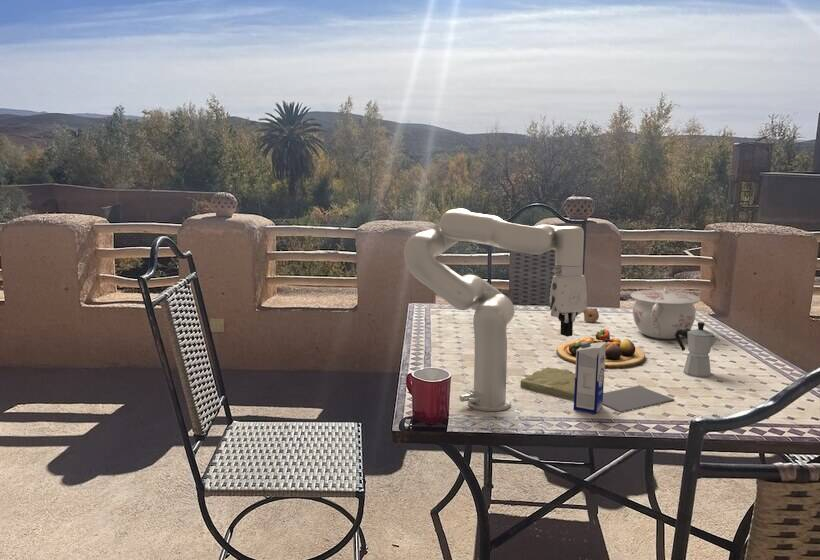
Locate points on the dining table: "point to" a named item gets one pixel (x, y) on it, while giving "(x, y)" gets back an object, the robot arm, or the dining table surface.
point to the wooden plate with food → (615, 351)
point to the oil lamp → (590, 315)
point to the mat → (632, 398)
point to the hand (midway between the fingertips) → (566, 335)
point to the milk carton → (589, 377)
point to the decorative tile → (551, 382)
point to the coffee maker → (697, 350)
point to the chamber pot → (663, 312)
